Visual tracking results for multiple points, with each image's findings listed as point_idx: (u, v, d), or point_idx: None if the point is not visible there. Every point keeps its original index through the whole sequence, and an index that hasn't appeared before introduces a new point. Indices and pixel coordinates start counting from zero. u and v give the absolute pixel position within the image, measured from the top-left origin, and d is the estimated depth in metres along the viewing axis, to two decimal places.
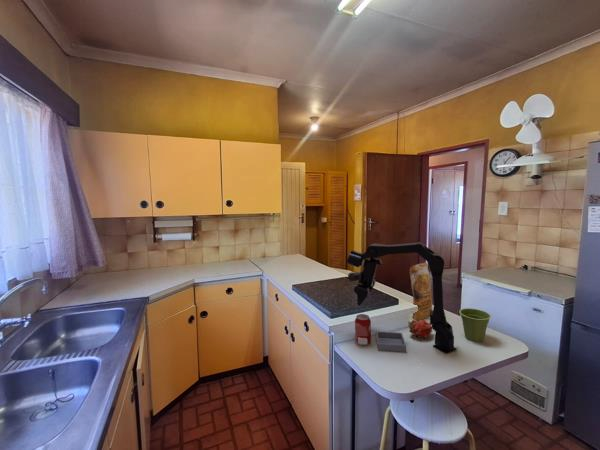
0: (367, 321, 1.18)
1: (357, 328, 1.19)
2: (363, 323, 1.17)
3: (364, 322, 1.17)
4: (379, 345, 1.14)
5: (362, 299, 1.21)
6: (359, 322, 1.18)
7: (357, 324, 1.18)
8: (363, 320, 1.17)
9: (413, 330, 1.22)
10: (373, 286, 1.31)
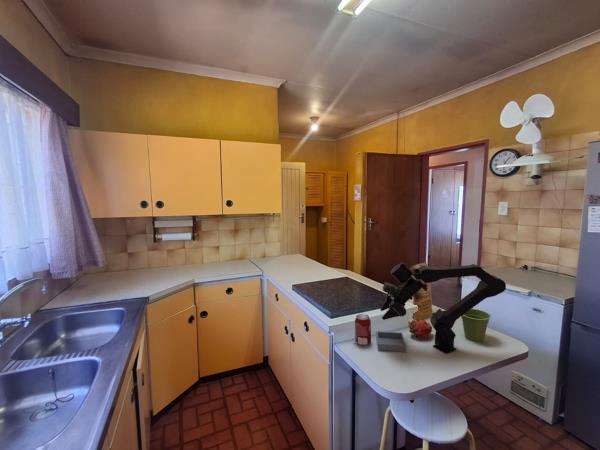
0: (367, 321, 1.18)
1: (357, 328, 1.19)
2: (363, 323, 1.17)
3: (364, 322, 1.17)
4: (379, 345, 1.14)
5: (391, 316, 1.12)
6: (359, 322, 1.18)
7: (357, 324, 1.18)
8: (363, 320, 1.17)
9: (413, 330, 1.22)
10: None
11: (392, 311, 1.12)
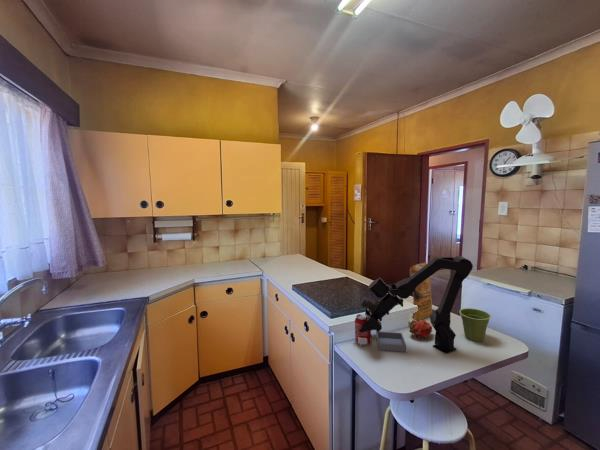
0: None
1: (357, 328, 1.19)
2: (363, 323, 1.17)
3: (364, 322, 1.17)
4: (379, 345, 1.14)
5: (368, 329, 1.15)
6: (359, 322, 1.18)
7: (357, 324, 1.18)
8: (363, 320, 1.17)
9: (413, 330, 1.22)
10: None
11: (368, 324, 1.15)
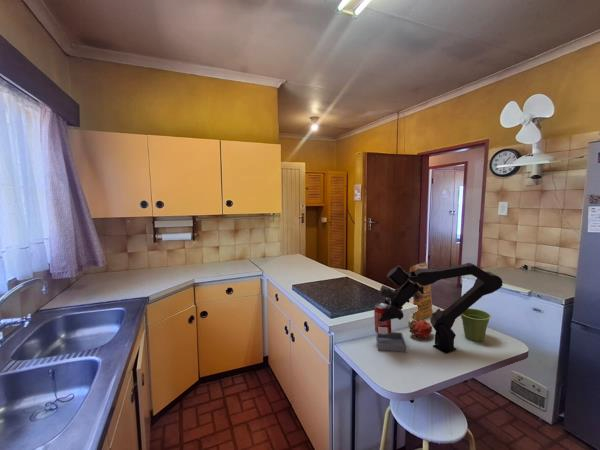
0: None
1: (377, 317, 1.16)
2: (383, 312, 1.15)
3: (384, 311, 1.15)
4: (379, 345, 1.14)
5: (388, 318, 1.13)
6: (379, 311, 1.16)
7: (377, 313, 1.16)
8: (383, 309, 1.15)
9: (413, 330, 1.22)
10: None
11: (389, 313, 1.13)
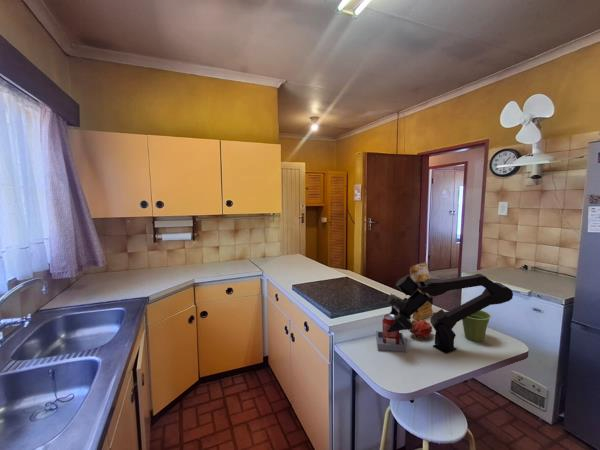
0: None
1: (385, 328, 1.16)
2: (392, 323, 1.15)
3: (393, 322, 1.15)
4: (379, 345, 1.14)
5: (397, 329, 1.12)
6: (387, 323, 1.15)
7: (385, 324, 1.16)
8: (392, 320, 1.15)
9: (413, 330, 1.22)
10: None
11: (398, 324, 1.11)
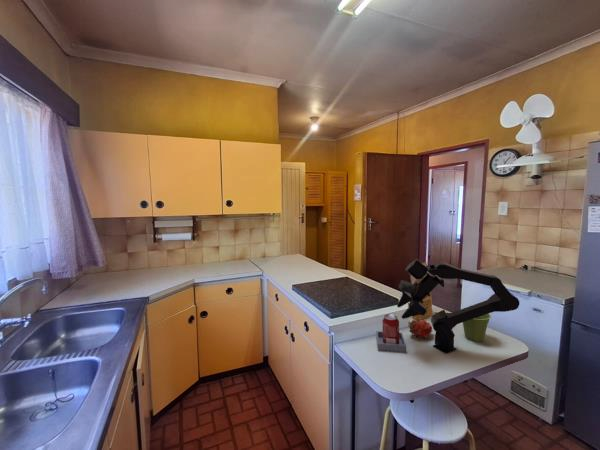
0: (396, 321, 1.15)
1: (385, 328, 1.16)
2: (392, 323, 1.15)
3: (393, 322, 1.15)
4: (379, 345, 1.14)
5: (411, 315, 1.12)
6: (388, 323, 1.15)
7: (385, 324, 1.16)
8: (392, 320, 1.15)
9: (413, 330, 1.22)
10: None
11: (411, 310, 1.11)
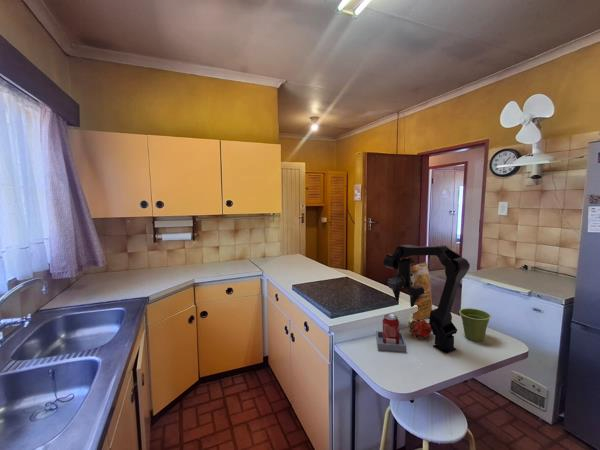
0: (396, 321, 1.15)
1: (385, 328, 1.16)
2: (392, 323, 1.15)
3: (393, 322, 1.15)
4: (379, 345, 1.14)
5: (416, 299, 1.25)
6: (388, 323, 1.15)
7: (385, 324, 1.16)
8: (392, 320, 1.15)
9: (413, 330, 1.22)
10: None
11: (413, 296, 1.25)
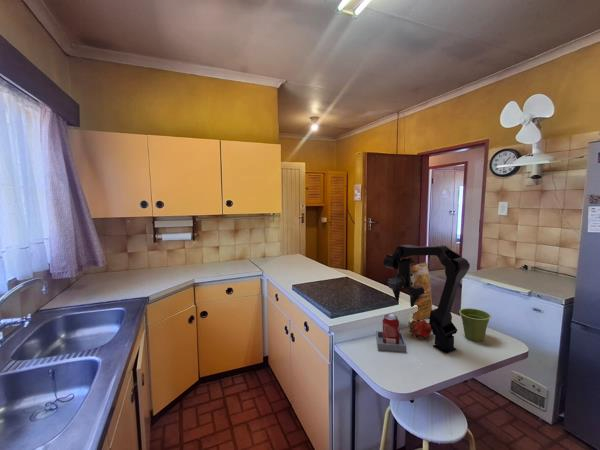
0: (396, 321, 1.15)
1: (385, 328, 1.16)
2: (392, 323, 1.15)
3: (393, 322, 1.15)
4: (379, 345, 1.14)
5: (416, 299, 1.25)
6: (388, 323, 1.15)
7: (385, 324, 1.16)
8: (392, 320, 1.15)
9: (413, 330, 1.22)
10: None
11: (413, 296, 1.25)
